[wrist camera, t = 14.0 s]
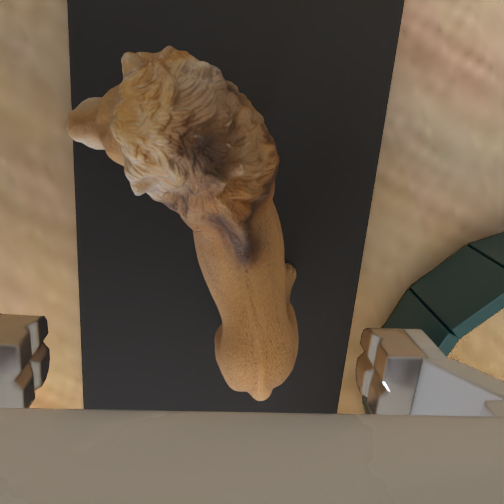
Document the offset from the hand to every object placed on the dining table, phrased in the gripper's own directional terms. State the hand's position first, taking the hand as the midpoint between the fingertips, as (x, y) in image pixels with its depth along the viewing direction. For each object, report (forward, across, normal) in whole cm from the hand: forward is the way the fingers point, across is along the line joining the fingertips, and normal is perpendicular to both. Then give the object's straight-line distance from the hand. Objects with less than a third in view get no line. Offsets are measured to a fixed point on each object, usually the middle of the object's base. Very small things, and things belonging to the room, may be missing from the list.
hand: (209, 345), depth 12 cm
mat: (+10, -1, 0) cm, 10 cm away
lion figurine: (+10, -1, -1) cm, 10 cm away
